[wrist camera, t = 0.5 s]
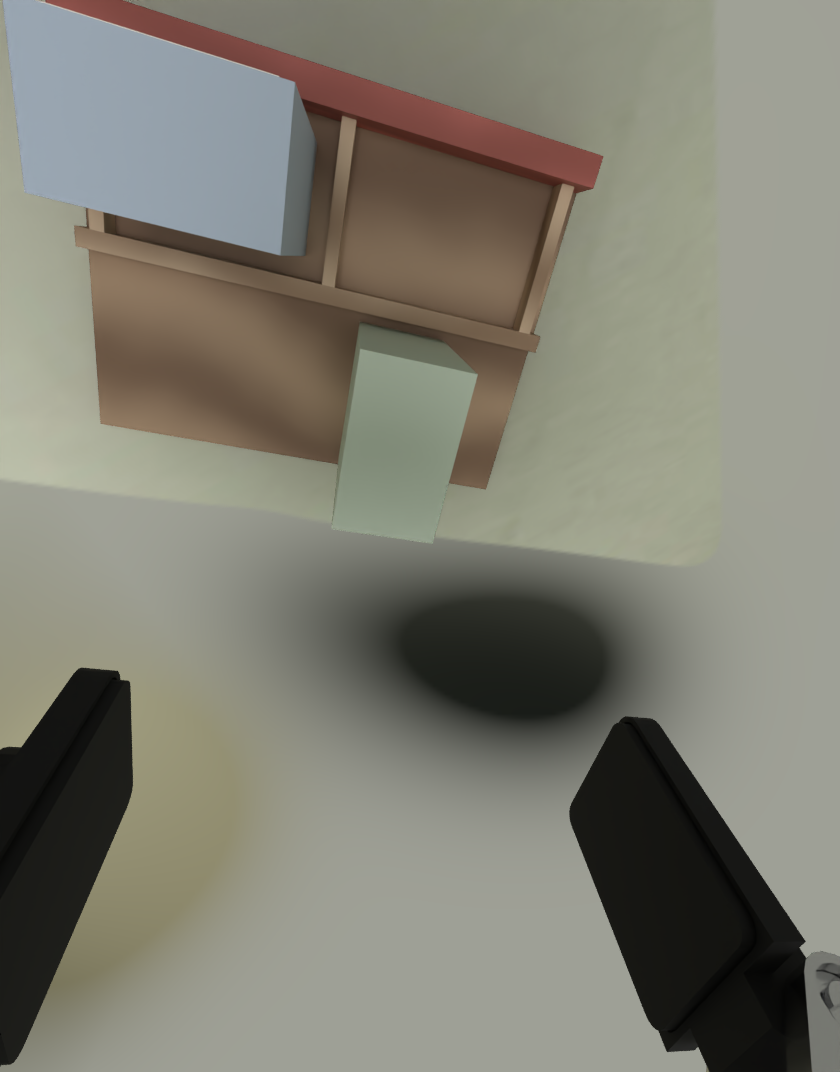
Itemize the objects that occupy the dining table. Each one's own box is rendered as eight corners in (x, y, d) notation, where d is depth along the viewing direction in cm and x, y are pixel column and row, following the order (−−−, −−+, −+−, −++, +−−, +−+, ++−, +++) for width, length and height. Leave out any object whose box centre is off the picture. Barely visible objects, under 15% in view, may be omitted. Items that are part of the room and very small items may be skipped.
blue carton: (134, 85, 21) (0, -18, 13) (317, 139, 22) (295, 75, 15) (138, 214, 23) (24, 192, 15) (305, 256, 24) (280, 255, 17)
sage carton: (446, 341, 27) (481, 375, 19) (415, 470, 30) (435, 544, 23) (359, 321, 26) (360, 348, 18) (338, 456, 30) (331, 529, 22)
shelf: (81, 8, 20) (43, -26, 18) (579, 166, 25) (603, 156, 22) (107, 419, 28) (82, 435, 25) (483, 484, 32) (493, 502, 30)
